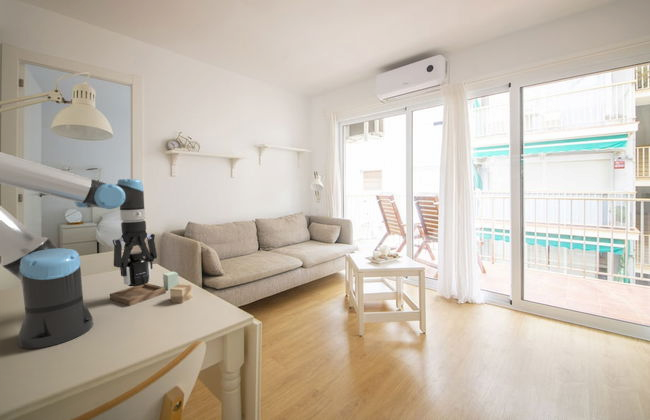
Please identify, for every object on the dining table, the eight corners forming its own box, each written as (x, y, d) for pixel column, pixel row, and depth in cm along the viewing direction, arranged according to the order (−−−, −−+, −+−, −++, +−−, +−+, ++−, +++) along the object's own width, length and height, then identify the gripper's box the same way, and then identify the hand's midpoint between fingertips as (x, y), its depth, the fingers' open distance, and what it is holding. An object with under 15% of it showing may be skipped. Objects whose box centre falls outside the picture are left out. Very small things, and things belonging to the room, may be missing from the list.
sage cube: (168, 290, 110) (167, 275, 110) (163, 288, 113) (163, 273, 112) (178, 287, 113) (177, 273, 113) (174, 285, 116) (173, 271, 115)
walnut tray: (130, 305, 96) (129, 300, 96) (110, 299, 102) (109, 294, 102) (166, 292, 107) (165, 287, 107) (146, 287, 113) (145, 282, 113)
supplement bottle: (141, 286, 101) (137, 254, 100) (123, 287, 101) (119, 255, 100) (153, 280, 108) (150, 250, 106) (136, 281, 108) (132, 251, 107)
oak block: (182, 303, 98) (182, 289, 97) (170, 302, 99) (169, 288, 98) (192, 297, 103) (191, 284, 102) (180, 296, 104) (180, 283, 103)
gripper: (108, 224, 92) (113, 291, 94) (165, 218, 109) (169, 274, 111) (96, 223, 95) (102, 288, 97) (154, 217, 113) (157, 272, 115)
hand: (138, 280), depth 104 cm, fingers closed on supplement bottle, 7 cm apart
